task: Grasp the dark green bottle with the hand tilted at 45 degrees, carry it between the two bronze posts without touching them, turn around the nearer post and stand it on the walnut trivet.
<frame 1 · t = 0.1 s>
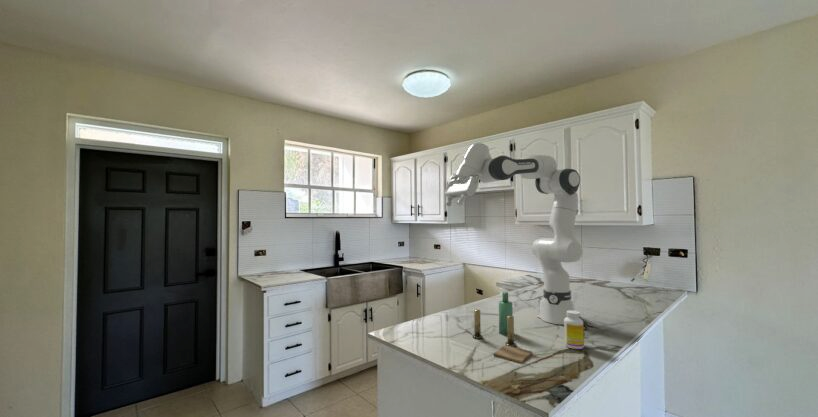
hand: (453, 205, 138), 54 cm above the counter, tool tilted 30°, fingers open, 8 cm apart
bottle: (506, 333, 140), on the counter
post 2: (510, 345, 126), on the counter
post 1: (477, 337, 135), on the counter
supplement bottle: (574, 346, 125), on the counter
trivet: (512, 354, 117), on the counter
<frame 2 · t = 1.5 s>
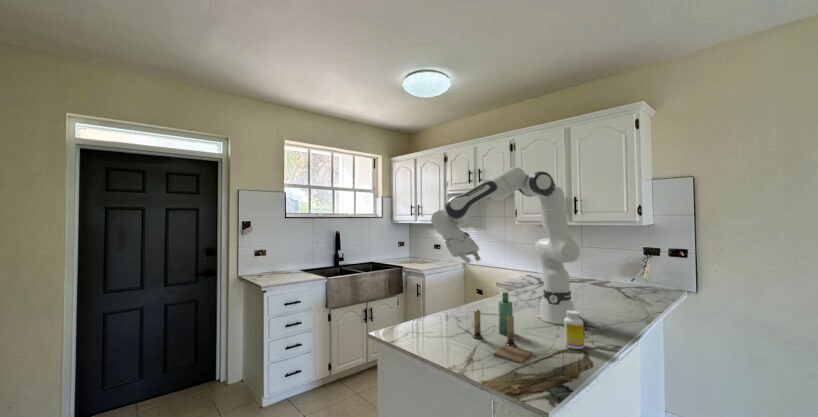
hand: (474, 261, 148), 30 cm above the counter, tool tilted 45°, fingers open, 8 cm apart
nothing on the counter moved.
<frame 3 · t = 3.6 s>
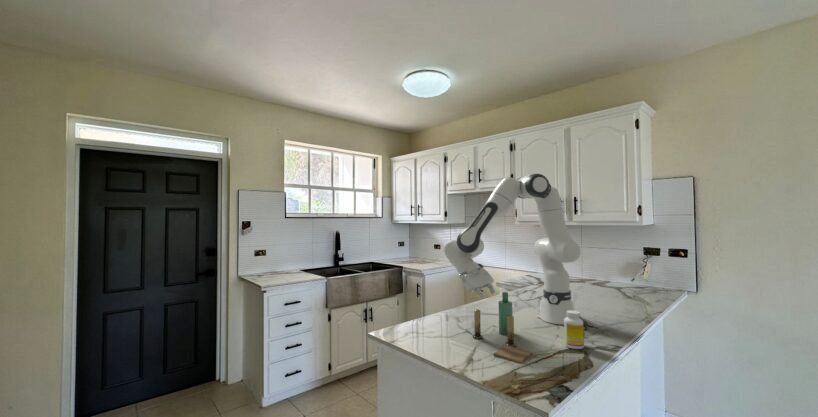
hand: (489, 295, 145), 15 cm above the counter, tool tilted 45°, fingers open, 8 cm apart
nothing on the counter moved.
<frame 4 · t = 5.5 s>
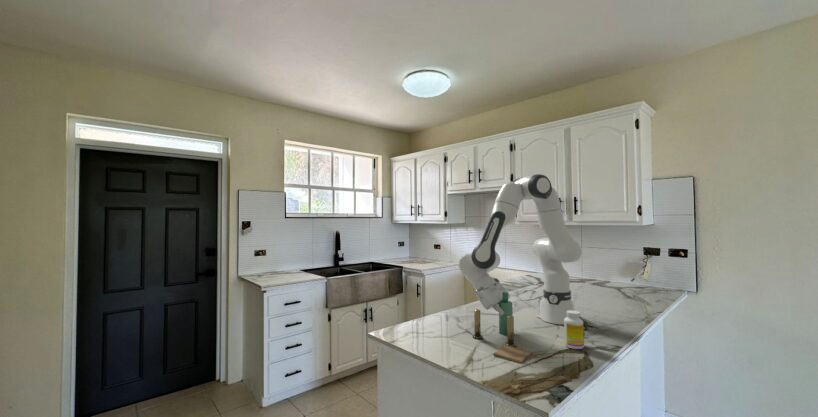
hand: (507, 312, 140), 9 cm above the counter, tool tilted 45°, fingers closed on bottle, 6 cm apart
bottle: (506, 333, 140), on the counter, touching gripper
everything else where it was.
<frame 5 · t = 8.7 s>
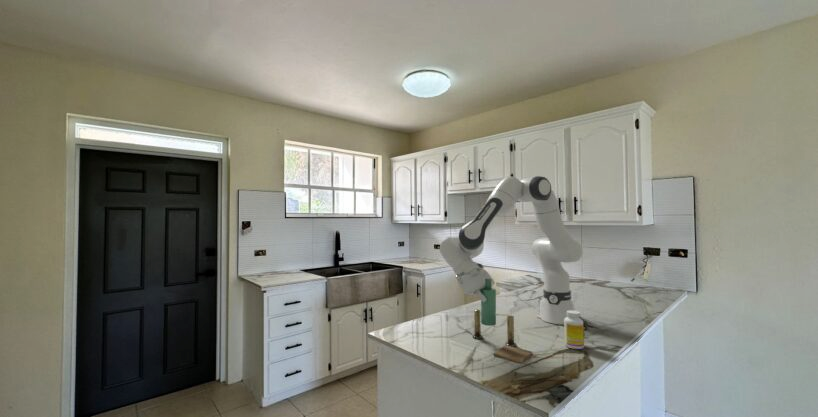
hand: (490, 299, 128), 17 cm above the counter, tool tilted 45°, fingers closed on bottle, 6 cm apart
bottle: (488, 323, 128), point 8 cm above the counter, touching gripper
everything else where it was.
when the fingers open (11 cm above the counter, at t = 12.1 s): bottle stays where it is, resting on trivet.
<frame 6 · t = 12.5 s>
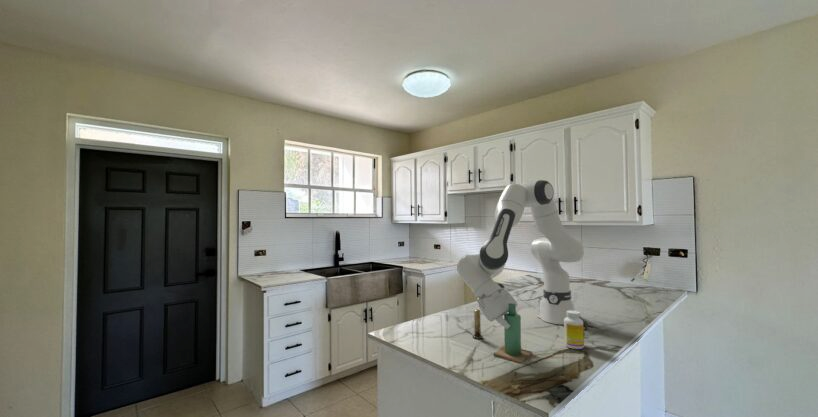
hand: (514, 324, 117), 11 cm above the counter, tool tilted 45°, fingers open, 8 cm apart
bottle: (512, 352, 117), point 1 cm above the counter, touching trivet
everything else where it was.
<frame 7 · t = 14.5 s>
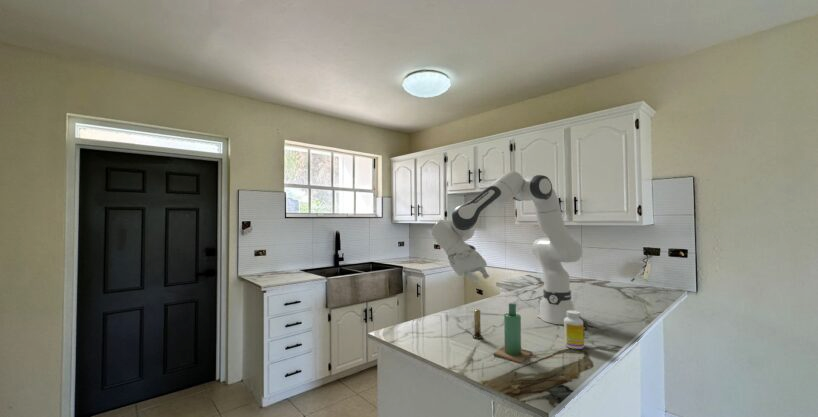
hand: (482, 279, 128), 25 cm above the counter, tool tilted 45°, fingers open, 8 cm apart
nothing on the counter moved.
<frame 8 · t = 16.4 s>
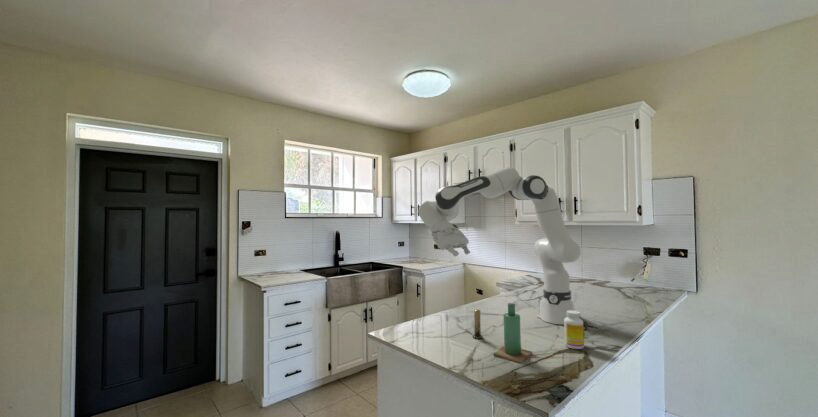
hand: (462, 254, 140), 33 cm above the counter, tool tilted 45°, fingers open, 8 cm apart
nothing on the counter moved.
at the end: bottle inside the target area on the trivet (0.1 cm from its centre), point 0.8 cm above the trivet's base; bottle tilted 1°; the gripper is holding nothing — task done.
